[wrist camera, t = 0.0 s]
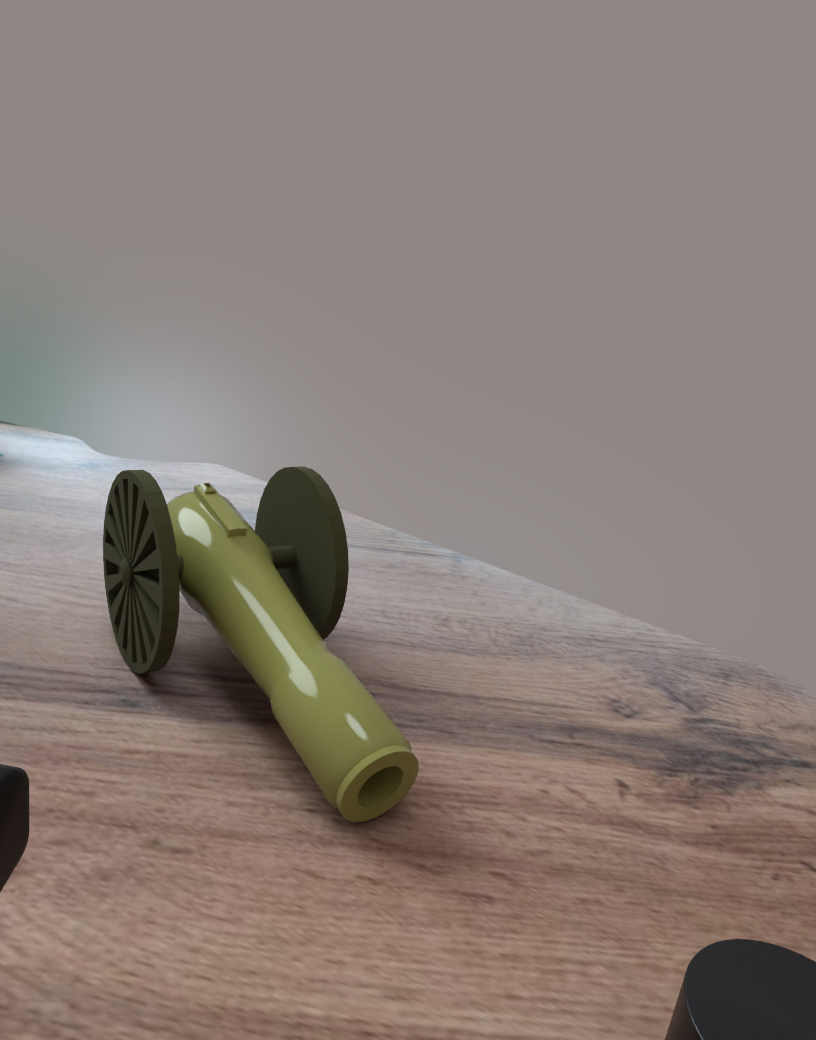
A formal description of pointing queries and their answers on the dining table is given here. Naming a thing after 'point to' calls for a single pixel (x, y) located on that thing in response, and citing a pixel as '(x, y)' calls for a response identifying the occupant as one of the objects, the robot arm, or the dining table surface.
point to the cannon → (258, 616)
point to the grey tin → (746, 994)
